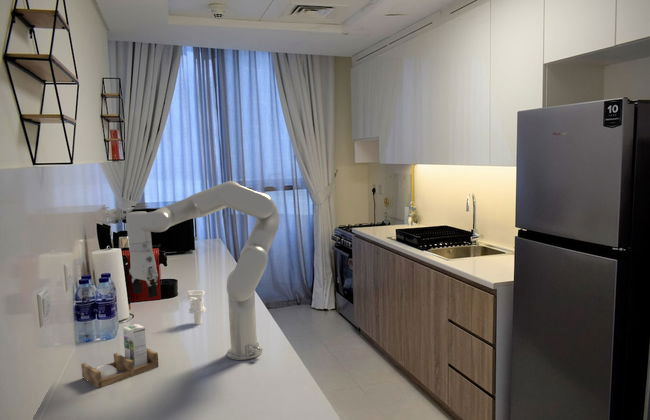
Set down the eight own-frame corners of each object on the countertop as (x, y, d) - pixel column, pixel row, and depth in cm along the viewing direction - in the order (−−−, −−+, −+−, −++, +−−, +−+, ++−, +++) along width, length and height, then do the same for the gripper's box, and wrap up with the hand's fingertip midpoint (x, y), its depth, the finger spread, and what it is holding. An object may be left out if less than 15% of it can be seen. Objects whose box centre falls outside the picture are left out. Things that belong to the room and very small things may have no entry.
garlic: (89, 378, 171) (88, 367, 171) (108, 371, 177) (107, 360, 177) (102, 383, 167) (102, 372, 166) (121, 376, 172) (120, 365, 172)
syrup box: (124, 367, 179) (121, 327, 177) (140, 362, 183) (137, 322, 182) (132, 372, 175) (129, 330, 173) (148, 366, 179) (145, 326, 178)
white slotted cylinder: (188, 322, 226) (186, 289, 224) (204, 319, 229) (202, 287, 228) (192, 327, 220) (189, 293, 218) (208, 324, 223) (206, 290, 221)
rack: (158, 366, 179) (157, 352, 178) (98, 388, 163) (97, 373, 163) (141, 358, 187) (140, 345, 186) (82, 378, 171) (81, 363, 171)
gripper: (163, 246, 176) (168, 295, 177) (137, 243, 187) (142, 289, 189) (143, 250, 170) (148, 301, 172) (118, 247, 181) (123, 294, 183)
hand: (145, 294), depth 180 cm, fingers open, 9 cm apart
